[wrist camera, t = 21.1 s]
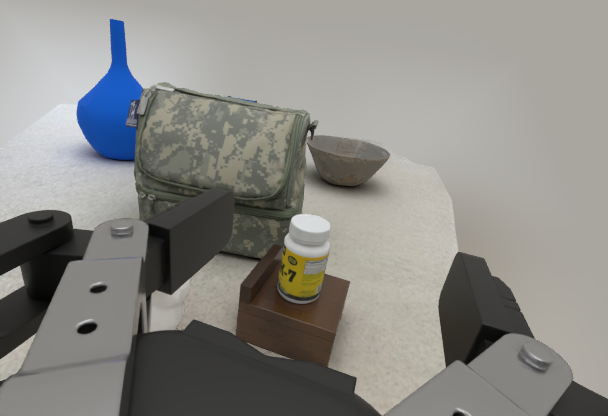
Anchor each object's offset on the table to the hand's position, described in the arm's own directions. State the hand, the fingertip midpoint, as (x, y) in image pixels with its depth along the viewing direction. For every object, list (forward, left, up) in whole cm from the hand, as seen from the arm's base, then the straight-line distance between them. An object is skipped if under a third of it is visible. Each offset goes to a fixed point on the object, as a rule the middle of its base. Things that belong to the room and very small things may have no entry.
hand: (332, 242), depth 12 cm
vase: (+61, -56, -22) cm, 86 cm away
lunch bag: (+22, -35, -22) cm, 47 cm away
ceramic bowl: (+9, -76, -22) cm, 79 cm away
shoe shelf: (+4, -19, -22) cm, 29 cm away
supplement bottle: (+4, -18, -17) cm, 25 cm away
